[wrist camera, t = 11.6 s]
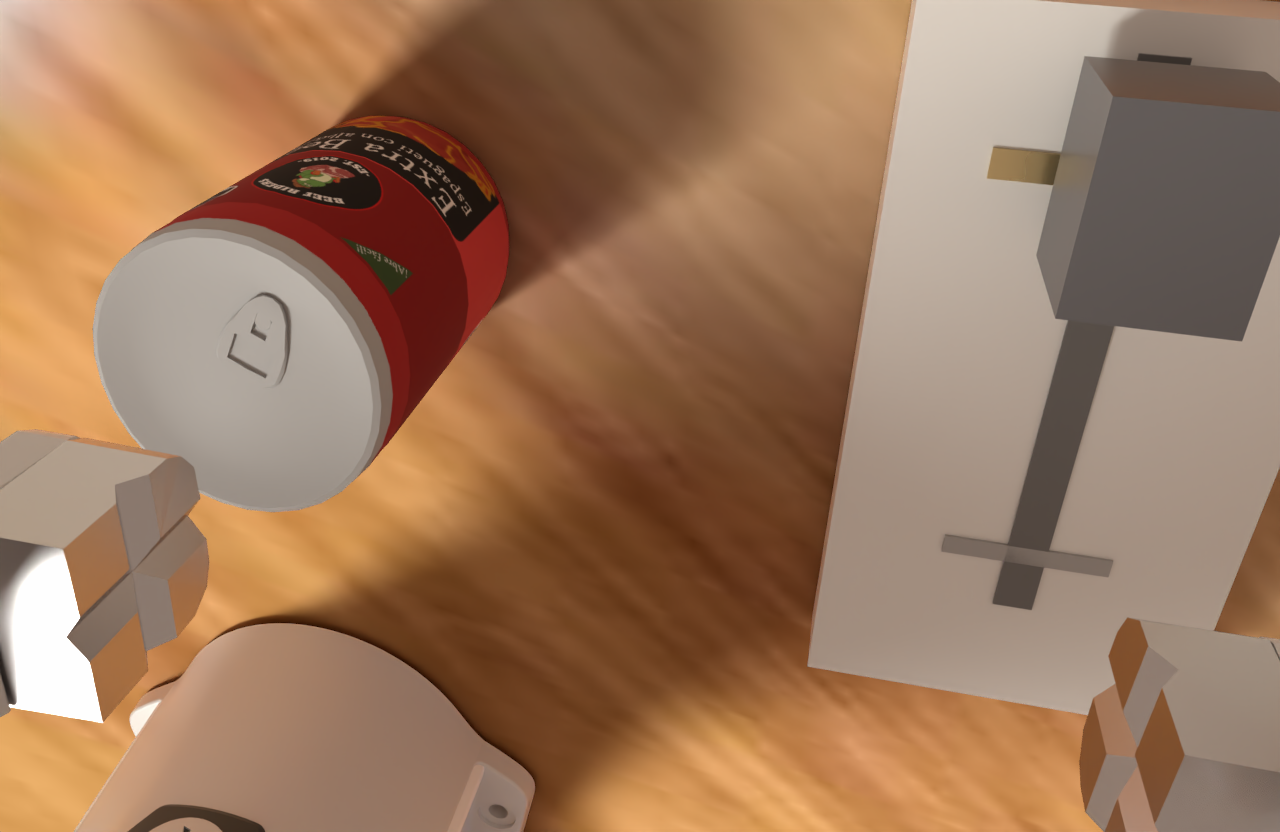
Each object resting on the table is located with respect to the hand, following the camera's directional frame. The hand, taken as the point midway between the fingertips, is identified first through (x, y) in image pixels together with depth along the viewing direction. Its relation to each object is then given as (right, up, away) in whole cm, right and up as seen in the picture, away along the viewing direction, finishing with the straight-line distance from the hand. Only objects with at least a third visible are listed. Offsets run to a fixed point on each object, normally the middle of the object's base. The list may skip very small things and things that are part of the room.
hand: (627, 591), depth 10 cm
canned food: (-8, +8, +27) cm, 29 cm away
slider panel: (+13, +3, +24) cm, 28 cm away
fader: (+13, +8, +18) cm, 23 cm away
